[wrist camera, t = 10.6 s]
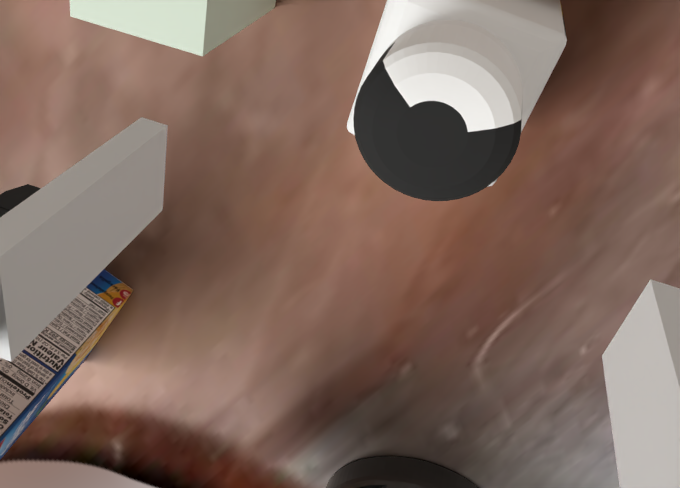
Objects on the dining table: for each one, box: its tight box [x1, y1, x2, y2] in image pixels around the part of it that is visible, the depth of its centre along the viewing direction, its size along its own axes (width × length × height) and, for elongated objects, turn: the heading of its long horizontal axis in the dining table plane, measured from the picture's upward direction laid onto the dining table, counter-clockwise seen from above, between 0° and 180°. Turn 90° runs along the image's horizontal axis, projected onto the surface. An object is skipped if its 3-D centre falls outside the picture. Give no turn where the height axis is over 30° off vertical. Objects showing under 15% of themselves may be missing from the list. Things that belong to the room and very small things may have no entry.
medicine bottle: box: [347, 0, 567, 201], centre depth 27 cm, size 7×7×12 cm
